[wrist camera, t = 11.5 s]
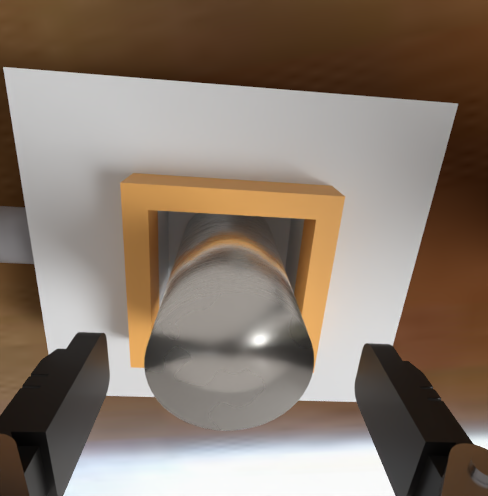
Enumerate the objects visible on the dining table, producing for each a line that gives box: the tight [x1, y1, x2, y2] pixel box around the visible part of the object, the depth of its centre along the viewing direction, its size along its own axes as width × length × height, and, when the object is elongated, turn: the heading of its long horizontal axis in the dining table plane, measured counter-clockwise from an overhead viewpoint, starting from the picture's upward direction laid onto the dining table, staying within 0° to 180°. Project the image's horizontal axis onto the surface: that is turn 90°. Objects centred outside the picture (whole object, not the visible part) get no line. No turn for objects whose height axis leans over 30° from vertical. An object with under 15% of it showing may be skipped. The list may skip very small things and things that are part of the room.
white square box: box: [0, 67, 458, 402], centre depth 19 cm, size 22×16×8 cm
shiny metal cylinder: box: [144, 213, 314, 431], centre depth 15 cm, size 5×5×10 cm
